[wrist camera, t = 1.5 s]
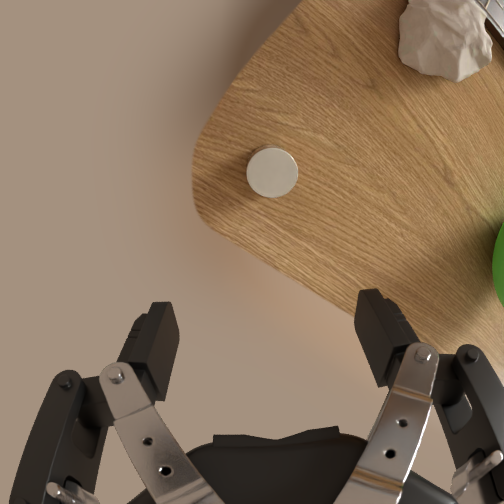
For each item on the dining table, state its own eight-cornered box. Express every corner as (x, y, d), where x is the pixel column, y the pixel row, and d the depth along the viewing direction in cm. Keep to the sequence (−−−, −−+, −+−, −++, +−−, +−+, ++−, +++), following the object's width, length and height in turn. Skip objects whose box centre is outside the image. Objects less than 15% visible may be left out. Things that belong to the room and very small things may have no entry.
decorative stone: (431, -30, 13) (362, 35, 20) (443, -42, 10) (370, 23, 16) (499, 40, 15) (441, 112, 21) (517, 35, 12) (458, 112, 18)
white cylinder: (238, 174, 25) (236, 181, 22) (262, 135, 23) (264, 138, 21) (276, 197, 26) (279, 207, 23) (301, 160, 24) (307, 165, 21)
